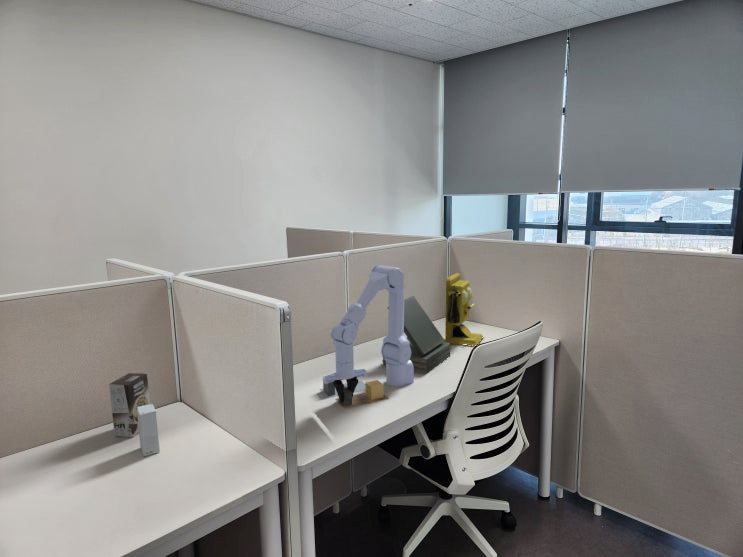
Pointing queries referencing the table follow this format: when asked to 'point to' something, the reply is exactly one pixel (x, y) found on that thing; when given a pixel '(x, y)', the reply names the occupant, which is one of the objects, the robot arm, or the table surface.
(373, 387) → the ochre block
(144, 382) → the coffee box
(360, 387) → the grey strip
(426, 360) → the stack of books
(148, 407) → the skincare box
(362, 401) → the walnut strip
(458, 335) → the vintage telephone
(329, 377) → the robot arm
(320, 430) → the table surface
